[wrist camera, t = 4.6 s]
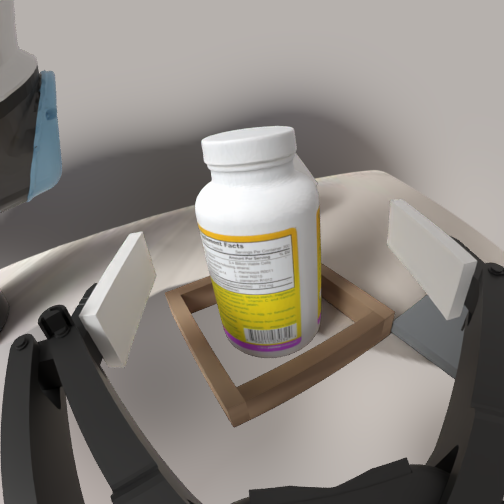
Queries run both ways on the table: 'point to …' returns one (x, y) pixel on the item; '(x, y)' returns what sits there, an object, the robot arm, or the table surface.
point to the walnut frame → (296, 370)
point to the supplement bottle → (261, 240)
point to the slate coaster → (432, 334)
